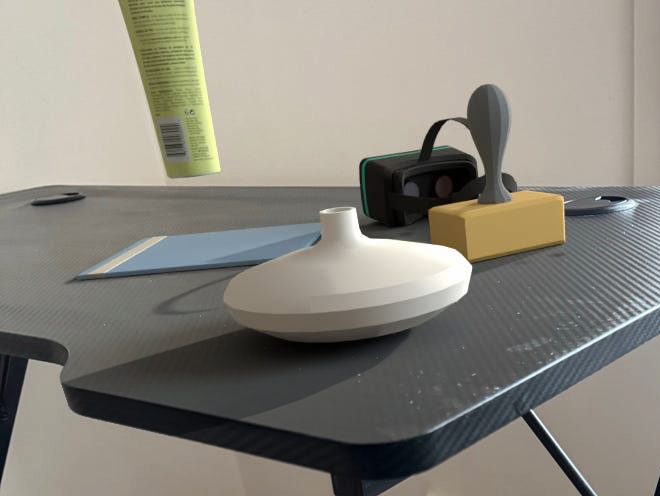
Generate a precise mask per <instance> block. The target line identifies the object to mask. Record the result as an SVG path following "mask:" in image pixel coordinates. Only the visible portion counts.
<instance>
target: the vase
mask: <svg viewBox="0 0 660 496" xmlns="http://www.w3.org/2000/svg"><path fill="white" fill-rule="evenodd" d="M318 214H319V221H320V222H321V229H322V234H321V239H319V241H317V243H316V244H314V245H311V246H310V247H307V248H303V249H300V250H297V251H294V252H291V253H288V254H286V255H283V256H281V257H278V258H275V259H273V260H270V261H268V262H265V263H262V264H256V265H255V266H252V267H250V268H248V269H246V270H244V271H242V272H240V273H239V272H238V273H237V274H236V275H235V276H234V277H233V278H232V279H231V280H229V282H228V285H227V287H226V288H225V290H224V293H223V298H222V299H223V304H224V305H225V307H226V309H227V311H228V312H229V315H230V316H231V318H232V319H233V321H235V322H236V323H238V324H239V325H241V326H242V327H245V328H248V329H251V330H254V331H256V332H259V333H263V334H266V335H268V336H270V337H271V336H272V337H274V338H277V339H281V340H285V341H289V342H299V343H337V342H339V343H340V342H350V341H358V340H365V339H371V338H372V339H373V338H377V337H381V336H387V335H391V334H395V333H399V332H403V331H405V330H409V329H411V328H416V327H418V326H420V325H422V324H424V323H426V322H428V321H430V320H432V319H433V318H435V317H436V316H438V315H439V314H441V313H442V312H443V311H445V310H446V309H448V308H449V307H451V306H452V305H454V304H455V303H456V302H458V301H459V300H460V299H462V298H463V297H464V296H465V295H466V294H467V293H468V291H469V285H470V280H471V276H472V270H473V266H472V263H469V262H468V261H467V260H466V259H465V258H464V257H463V256H462V255H461V254H460V253H459V252H458V251H456V250H455V249H452V248H448V247H444V246H439V245H432V243H423V242H415V241H406V240H399V239H391V238H369V237H368V236H366V235H364V234H362V232H361V229H360V226H359V222H358V221H359V220H358V215H357V209H356V207H355V206H340V207H332V208H327V209H326V208H325V209H323V210H320V211H318Z"/></svg>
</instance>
